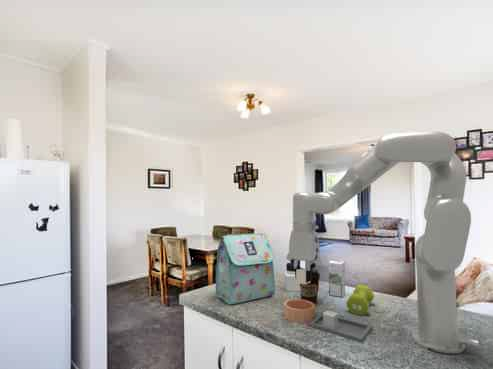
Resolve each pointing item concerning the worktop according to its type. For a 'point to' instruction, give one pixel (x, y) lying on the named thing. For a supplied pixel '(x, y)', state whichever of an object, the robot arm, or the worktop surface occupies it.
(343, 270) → the clear bottle
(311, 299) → the coffee cup
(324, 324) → the grey sharp-edged block
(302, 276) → the cream cube
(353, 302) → the dumbbell
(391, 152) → the robot arm
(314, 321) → the tray
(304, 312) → the bowl
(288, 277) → the medicine bottle
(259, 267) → the lunch bag
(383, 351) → the worktop surface
